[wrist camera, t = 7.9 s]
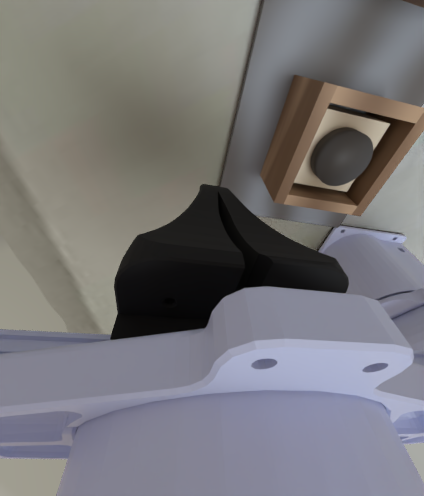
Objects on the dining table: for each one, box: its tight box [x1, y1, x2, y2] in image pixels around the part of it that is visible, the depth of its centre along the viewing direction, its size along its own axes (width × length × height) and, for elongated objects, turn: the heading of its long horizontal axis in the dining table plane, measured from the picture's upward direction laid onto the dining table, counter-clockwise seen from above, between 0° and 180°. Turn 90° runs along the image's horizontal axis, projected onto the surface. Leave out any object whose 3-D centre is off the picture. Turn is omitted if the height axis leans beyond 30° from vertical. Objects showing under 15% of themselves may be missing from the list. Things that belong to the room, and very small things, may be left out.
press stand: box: [219, 0, 424, 228], centre depth 13 cm, size 14×28×6 cm, turn 169°
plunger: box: [294, 105, 390, 192], centre depth 17 cm, size 5×5×5 cm
